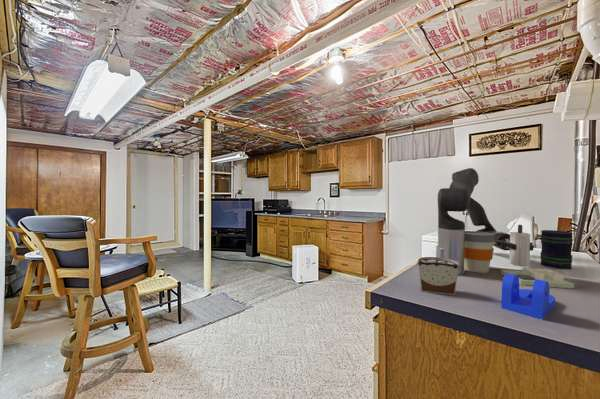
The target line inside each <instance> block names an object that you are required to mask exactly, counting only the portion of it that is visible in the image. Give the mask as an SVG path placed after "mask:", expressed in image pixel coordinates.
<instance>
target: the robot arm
mask: <svg viewBox="0 0 600 399" xmlns="http://www.w3.org/2000/svg"><path fill="white" fill-rule="evenodd" d="M479 178H480V177H479V173H478V172H477V170H475V168H472V167H468V168H466V169H461V170H458V171H455V172H453V173H452V175H451V180H452V181H451V183H450V185H449V188H448V187H443V188H440V189H439V190H438V192H437V214H438V215H437V217H438V220H437V222H438V223H437V227H438V228H437V245H436V246H435V247H436V248H435V252H436V253H435V254H436V255H435V257H439V258H446V259H450V260H454V261H457V262H458V263H459V265H460V268H461V270H460V269H458V275H459V276H460V275H463V274H464V275H465V269H464V251H465V231H466V224H465V221H462V220H461V219H457V218H456V217H454V216H451V215H450V214H449V213H448V212H459V213H460V212H461V213H462V212H465V211H467V212H468V215H469V218H470V221H471V223H472V224H473V226H475V227H481V226H482V227H483V226H484V228H481V229H477V230H476V231H478V232H487V233H492V234H494V239H495V242H494V243H493V247H494V248H496V249H497V248H498V249H500V250H502V251H508V252H509V251H510V249H513V250H516V244H513V243H510V233H506V232H503V231H497V229H495V227H494V226H493V224H491V222H490V220H489V218H488V215H487V213H486V210H485V209H484V206H482V204H481V203H479V202H478V201H477V200H475V199H474V198H473V197H471V196H472V194H473V192H474V189H475V187H476V186H477V185H478V183H479V180H480V179H479ZM533 250H534V243H533V242H531V241H530V252H532V251H533ZM458 275H457V276H458Z"/></svg>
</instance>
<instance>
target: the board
mask: <svg viewBox="0 0 600 399" xmlns="http://www.w3.org/2000/svg"><path fill="white" fill-rule="evenodd" d="M500 271H501V272H500V273H501V275H503V276H505V274H507V273H508V274H513V275H517V276H518V278H519V286H520V285H521V286H532V287H533V284H534V281H535V280H536V279H538V280H543V281H548V283H549V288H560V289H562V288H563V289H572V290H573V289H575V283H572V282H570V281H567V280H566V279H565V278H564V277H565V276H564V274H560V273H558V272H556V271H553V270H552V269H548V268H547V269H546V268H545V269H544V268H530V267H528V268H527V267H523V268H522V270H511V269H510V270H509V269H501V270H500Z"/></svg>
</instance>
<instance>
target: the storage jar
mask: <svg viewBox="0 0 600 399" xmlns="http://www.w3.org/2000/svg"><path fill="white" fill-rule="evenodd" d="M573 235H574V234H573V232H570V231H565V230H563V231H562V230H552V229H551V230H549V229H543V230H541V236H540V244H541V251H540V254H539V255H540V257H539V258H540V266H542V267H546V268H550V269H558V270H572V269H573V268H572V263H573V254H572V247H573V242H574V239H573Z"/></svg>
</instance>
